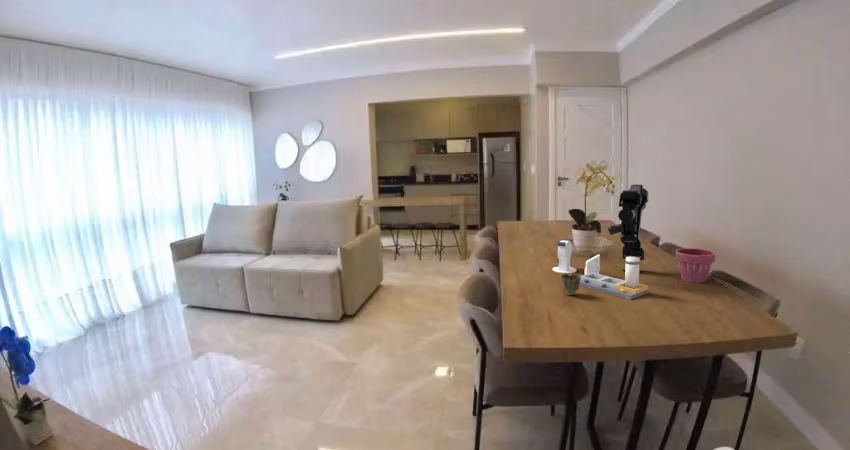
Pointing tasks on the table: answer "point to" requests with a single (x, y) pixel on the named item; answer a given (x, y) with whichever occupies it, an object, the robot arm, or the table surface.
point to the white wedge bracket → (593, 265)
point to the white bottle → (632, 272)
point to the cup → (570, 283)
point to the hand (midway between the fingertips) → (628, 253)
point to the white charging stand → (564, 257)
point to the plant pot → (694, 264)
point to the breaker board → (612, 286)
